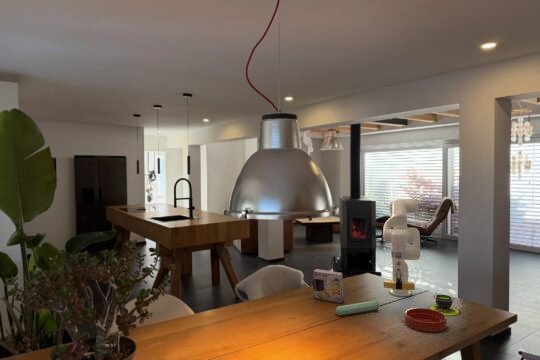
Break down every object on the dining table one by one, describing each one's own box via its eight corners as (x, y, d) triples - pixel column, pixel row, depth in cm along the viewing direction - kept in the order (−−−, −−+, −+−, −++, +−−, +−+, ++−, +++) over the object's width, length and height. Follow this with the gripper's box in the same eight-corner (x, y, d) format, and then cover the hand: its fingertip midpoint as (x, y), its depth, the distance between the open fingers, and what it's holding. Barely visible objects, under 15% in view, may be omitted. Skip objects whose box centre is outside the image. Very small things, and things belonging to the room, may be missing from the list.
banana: (383, 285, 210) (383, 279, 210) (414, 288, 204) (414, 282, 204) (383, 288, 205) (383, 282, 205) (414, 291, 199) (414, 285, 199)
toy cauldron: (464, 312, 206) (464, 292, 206) (446, 317, 200) (446, 296, 199) (441, 303, 220) (441, 285, 219) (423, 308, 213) (423, 289, 213)
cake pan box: (312, 297, 233) (312, 269, 233) (316, 295, 237) (316, 268, 237) (340, 304, 221) (340, 274, 221) (344, 301, 225) (343, 272, 225)
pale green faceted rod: (337, 305, 202) (377, 299, 210) (333, 306, 207) (372, 300, 215) (340, 317, 200) (380, 310, 208) (335, 317, 205) (374, 310, 213)
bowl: (404, 315, 203) (404, 306, 203) (444, 319, 197) (444, 310, 196) (405, 330, 185) (405, 320, 184) (448, 335, 178) (448, 324, 178)
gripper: (406, 258, 194) (406, 293, 195) (406, 251, 210) (406, 284, 210) (391, 257, 197) (391, 292, 197) (392, 251, 212) (392, 282, 213)
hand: (399, 287), depth 204 cm, fingers closed on banana, 3 cm apart
